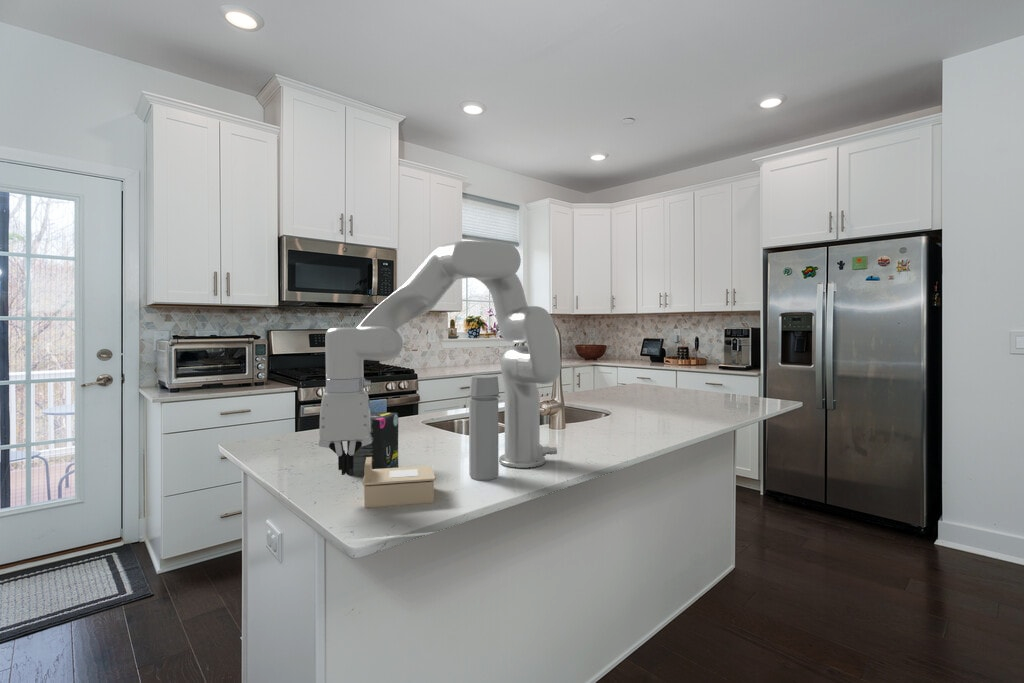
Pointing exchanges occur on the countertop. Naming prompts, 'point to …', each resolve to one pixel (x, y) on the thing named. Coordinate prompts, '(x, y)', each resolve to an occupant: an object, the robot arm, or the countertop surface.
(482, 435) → the water bottle
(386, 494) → the mailer box
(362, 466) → the tampon box
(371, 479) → the lid
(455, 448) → the countertop surface
